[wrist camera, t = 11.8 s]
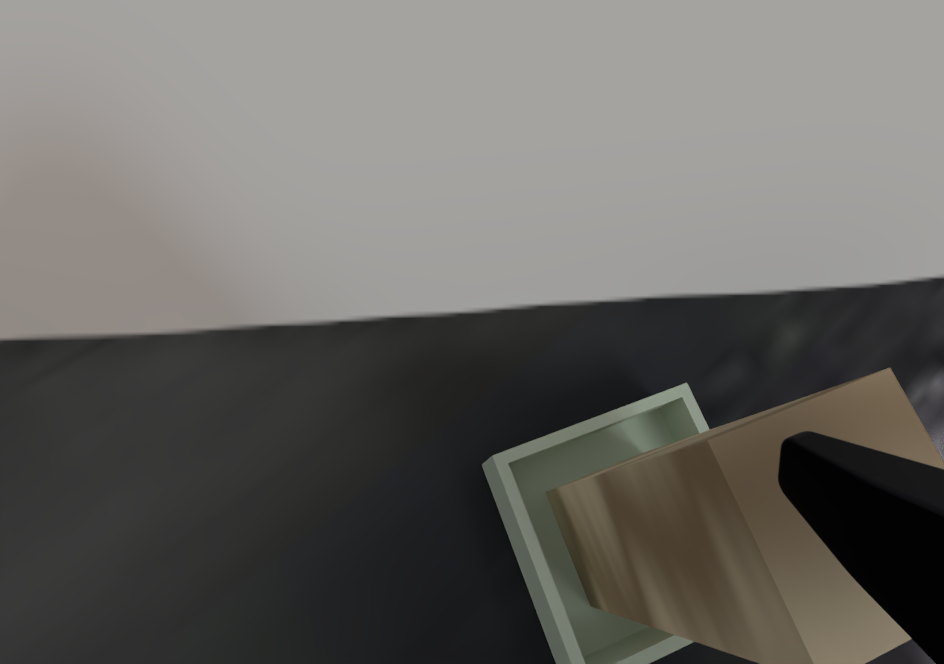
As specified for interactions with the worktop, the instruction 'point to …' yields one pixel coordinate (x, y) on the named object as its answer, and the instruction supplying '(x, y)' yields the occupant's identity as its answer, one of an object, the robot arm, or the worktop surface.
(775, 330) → the worktop surface
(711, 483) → the tan wooden block
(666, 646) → the open square box
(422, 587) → the worktop surface
